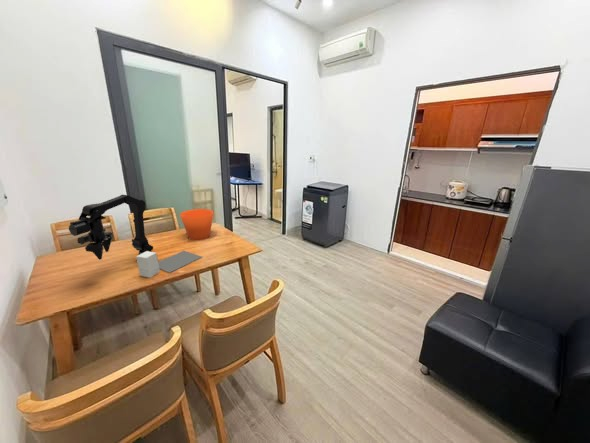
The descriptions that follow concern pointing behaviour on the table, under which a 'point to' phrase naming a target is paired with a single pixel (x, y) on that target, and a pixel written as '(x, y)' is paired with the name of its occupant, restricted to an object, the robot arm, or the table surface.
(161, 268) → the mat
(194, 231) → the flowerpot
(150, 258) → the supplement box
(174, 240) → the table surface
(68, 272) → the table surface
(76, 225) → the robot arm
